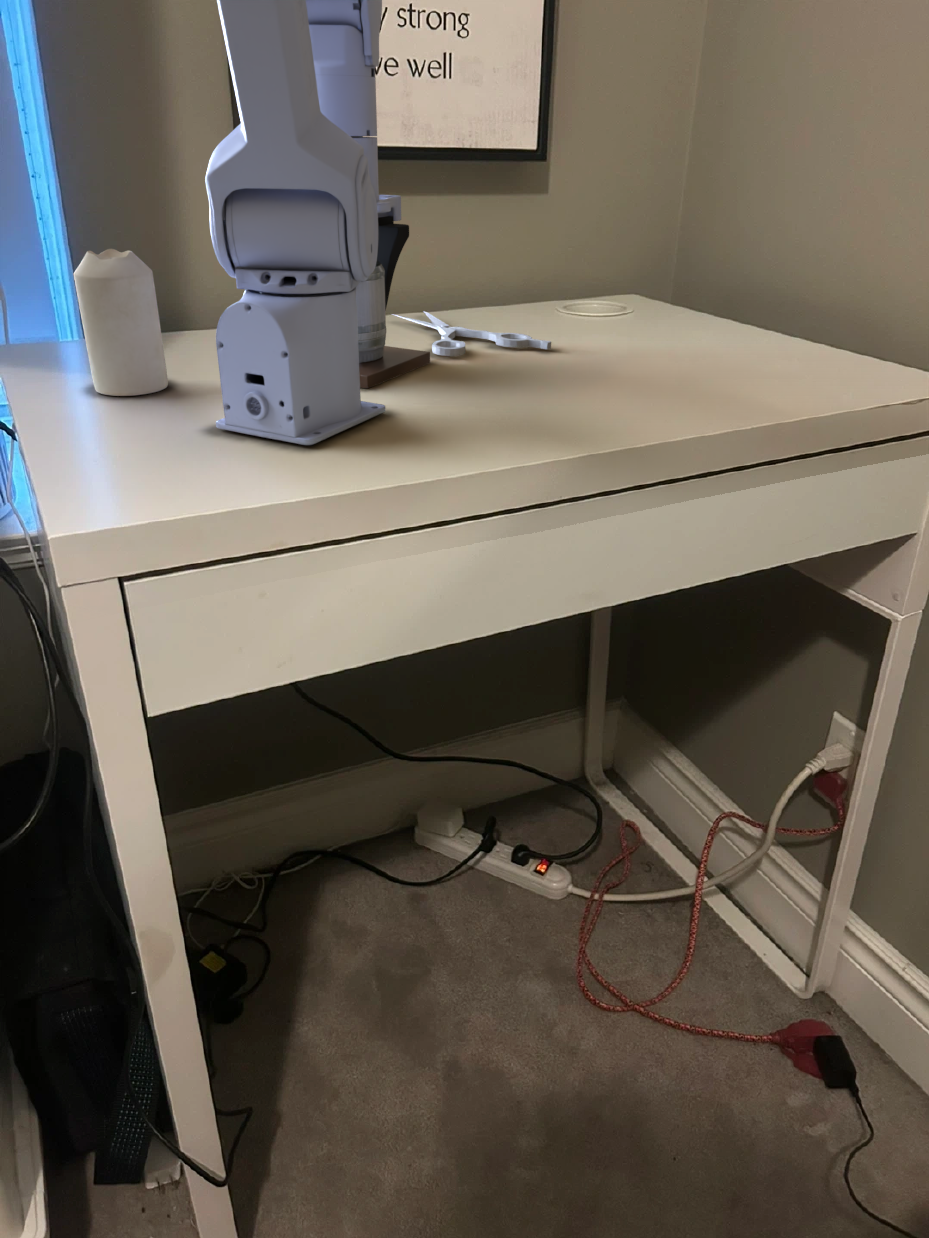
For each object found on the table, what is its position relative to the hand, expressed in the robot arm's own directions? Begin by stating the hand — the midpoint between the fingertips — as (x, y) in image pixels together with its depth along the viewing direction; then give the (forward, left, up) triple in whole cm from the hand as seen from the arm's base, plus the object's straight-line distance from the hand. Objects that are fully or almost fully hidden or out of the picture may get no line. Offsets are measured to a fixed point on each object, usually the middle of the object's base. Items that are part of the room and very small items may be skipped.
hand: (348, 321), depth 76 cm
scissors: (+16, -1, -4) cm, 16 cm away
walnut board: (0, 0, -4) cm, 4 cm away
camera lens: (0, 0, -3) cm, 3 cm away
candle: (-14, +11, -4) cm, 18 cm away
